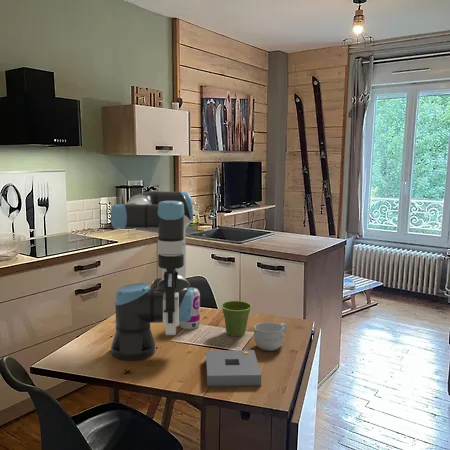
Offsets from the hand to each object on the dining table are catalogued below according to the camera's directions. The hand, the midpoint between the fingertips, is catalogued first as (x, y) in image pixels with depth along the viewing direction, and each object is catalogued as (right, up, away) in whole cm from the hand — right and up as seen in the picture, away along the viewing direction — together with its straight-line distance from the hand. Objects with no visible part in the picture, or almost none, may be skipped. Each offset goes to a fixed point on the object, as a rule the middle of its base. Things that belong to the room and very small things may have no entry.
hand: (170, 329), depth 140 cm
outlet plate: (+18, -15, +6) cm, 25 cm away
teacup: (+33, -13, +27) cm, 45 cm away
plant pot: (+20, -11, +39) cm, 45 cm away
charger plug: (0, -1, 0) cm, 1 cm away
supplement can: (+2, -9, +46) cm, 47 cm away
